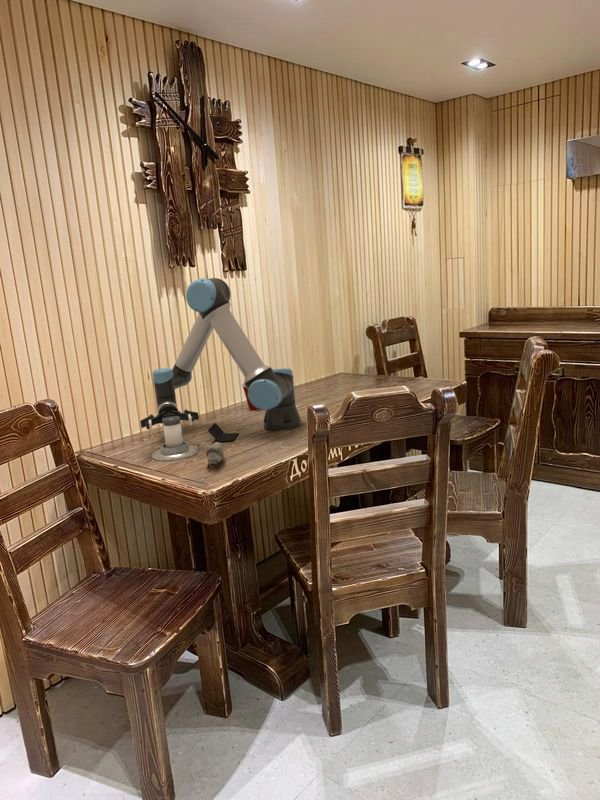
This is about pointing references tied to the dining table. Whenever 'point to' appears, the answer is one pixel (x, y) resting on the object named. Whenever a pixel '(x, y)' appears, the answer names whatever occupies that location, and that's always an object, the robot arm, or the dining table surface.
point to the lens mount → (175, 452)
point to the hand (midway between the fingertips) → (170, 424)
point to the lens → (172, 431)
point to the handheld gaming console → (222, 434)
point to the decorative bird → (215, 454)
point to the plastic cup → (248, 398)
